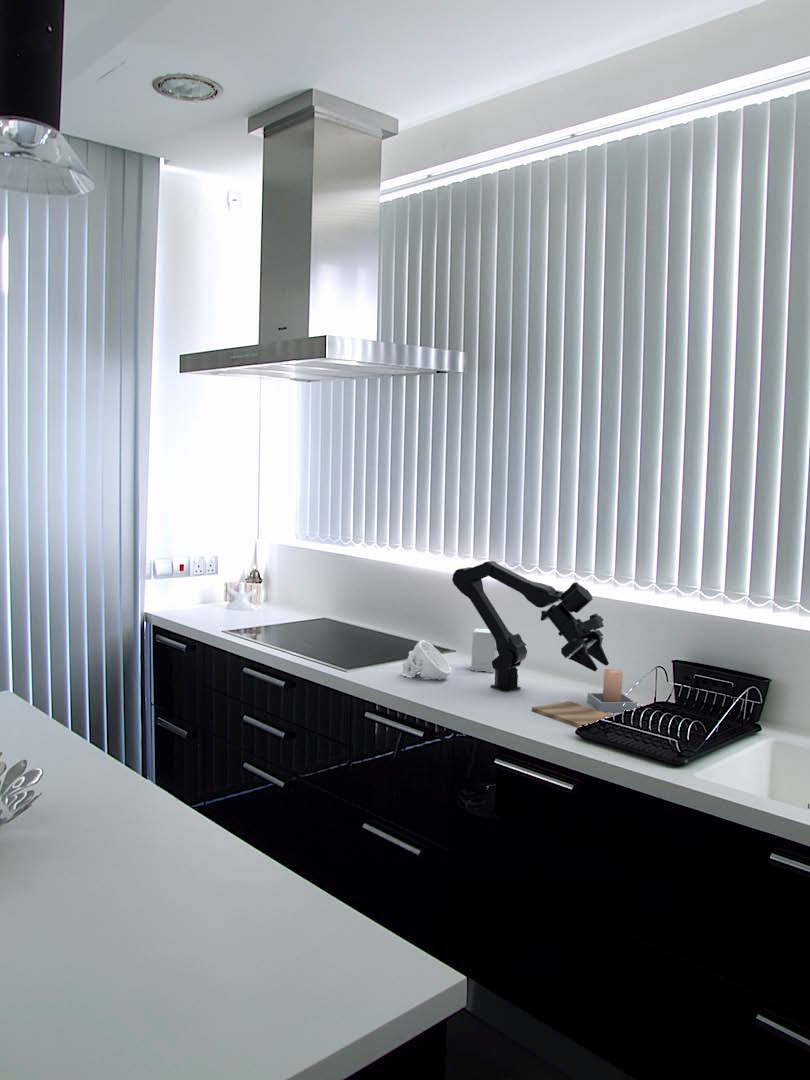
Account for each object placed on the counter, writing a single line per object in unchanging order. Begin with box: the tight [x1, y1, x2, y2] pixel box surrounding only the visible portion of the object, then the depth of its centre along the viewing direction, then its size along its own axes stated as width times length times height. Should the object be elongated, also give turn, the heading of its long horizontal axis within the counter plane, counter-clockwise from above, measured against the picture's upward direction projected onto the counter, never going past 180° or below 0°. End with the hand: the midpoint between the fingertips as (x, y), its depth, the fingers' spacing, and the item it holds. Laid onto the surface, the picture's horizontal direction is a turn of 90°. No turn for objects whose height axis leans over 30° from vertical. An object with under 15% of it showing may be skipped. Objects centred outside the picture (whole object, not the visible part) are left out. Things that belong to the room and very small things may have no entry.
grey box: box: [586, 692, 638, 713], centre depth 252 cm, size 10×10×2 cm
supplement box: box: [470, 628, 498, 673], centre depth 292 cm, size 7×7×13 cm
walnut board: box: [531, 700, 615, 728], centre depth 242 cm, size 18×14×1 cm
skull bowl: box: [401, 639, 452, 681], centre depth 278 cm, size 10×14×12 cm
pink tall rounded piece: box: [602, 668, 624, 702], centre depth 252 cm, size 5×5×10 cm
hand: (602, 667), depth 253 cm, fingers open, 9 cm apart
